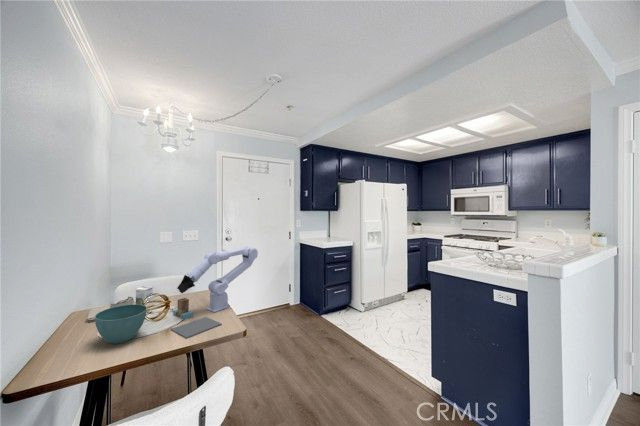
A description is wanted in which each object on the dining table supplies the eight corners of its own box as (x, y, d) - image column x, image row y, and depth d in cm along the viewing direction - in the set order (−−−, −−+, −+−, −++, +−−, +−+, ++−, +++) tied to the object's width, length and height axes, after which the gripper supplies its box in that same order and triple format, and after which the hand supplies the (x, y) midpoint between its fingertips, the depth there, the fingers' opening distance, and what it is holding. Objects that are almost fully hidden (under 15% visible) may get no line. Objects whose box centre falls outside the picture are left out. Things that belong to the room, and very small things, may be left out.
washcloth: (85, 324, 128) (85, 318, 128) (89, 313, 142) (89, 307, 142) (116, 318, 135) (116, 313, 135) (116, 308, 149) (116, 303, 149)
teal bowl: (150, 327, 125) (151, 302, 125) (139, 345, 108) (140, 316, 108) (104, 333, 118) (105, 306, 118) (85, 353, 101) (86, 322, 101)
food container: (121, 324, 127) (122, 304, 127) (109, 324, 127) (109, 304, 127) (139, 314, 140) (140, 296, 140) (128, 314, 140) (128, 296, 140)
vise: (176, 309, 148) (176, 305, 148) (192, 317, 138) (193, 312, 138) (166, 312, 144) (166, 308, 144) (182, 320, 134) (182, 315, 134)
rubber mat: (205, 317, 138) (205, 316, 138) (221, 324, 130) (221, 323, 130) (170, 330, 123) (170, 328, 123) (186, 338, 115) (186, 337, 115)
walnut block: (184, 314, 142) (185, 297, 142) (188, 315, 140) (188, 299, 140) (177, 316, 139) (177, 299, 139) (181, 318, 137) (181, 301, 137)
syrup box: (152, 311, 144) (153, 286, 144) (144, 315, 138) (145, 289, 138) (143, 311, 145) (143, 285, 145) (134, 315, 139) (135, 288, 139)
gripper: (194, 269, 149) (175, 289, 142) (192, 262, 137) (171, 283, 129) (204, 277, 149) (185, 296, 142) (203, 271, 137) (182, 292, 129)
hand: (179, 291), depth 135 cm, fingers open, 7 cm apart
